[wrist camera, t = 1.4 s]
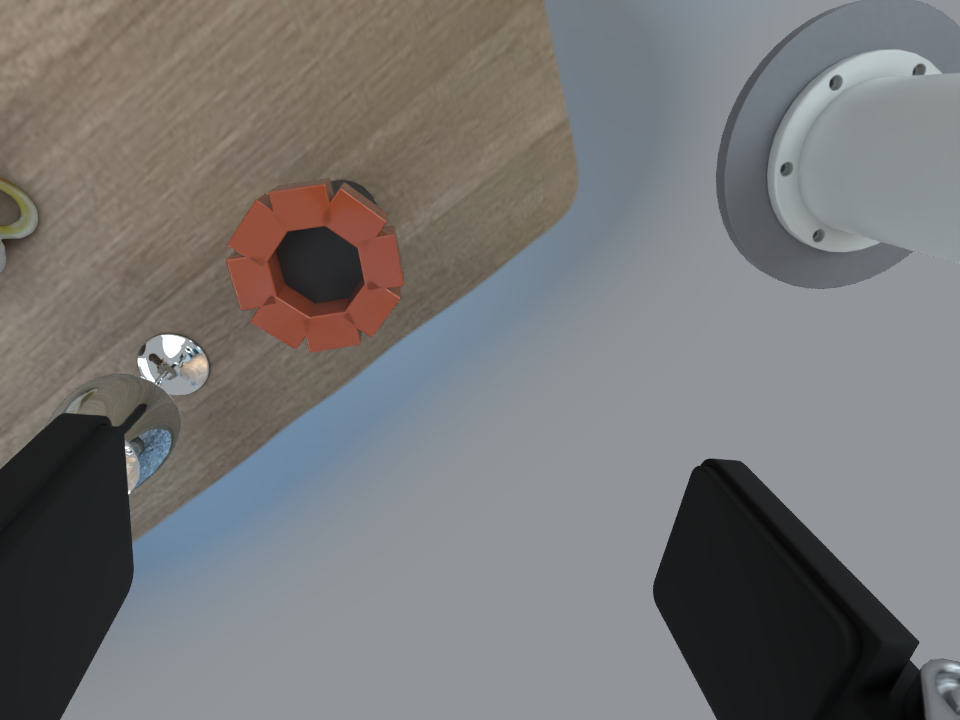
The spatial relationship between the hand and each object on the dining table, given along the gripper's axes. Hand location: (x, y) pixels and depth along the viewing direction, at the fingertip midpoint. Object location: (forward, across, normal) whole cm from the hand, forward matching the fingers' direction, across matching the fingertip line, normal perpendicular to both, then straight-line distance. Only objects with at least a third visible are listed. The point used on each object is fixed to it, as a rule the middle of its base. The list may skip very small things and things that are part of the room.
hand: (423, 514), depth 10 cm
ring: (+18, +4, +1) cm, 19 cm away
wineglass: (+31, +14, +12) cm, 36 cm away
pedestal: (+30, +3, +1) cm, 30 cm away
